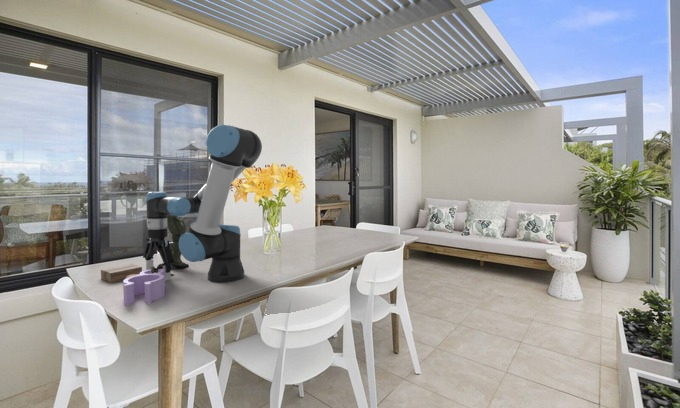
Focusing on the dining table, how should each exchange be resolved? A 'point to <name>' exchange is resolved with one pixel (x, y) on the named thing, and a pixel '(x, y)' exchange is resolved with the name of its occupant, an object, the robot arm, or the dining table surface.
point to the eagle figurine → (160, 266)
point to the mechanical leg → (176, 239)
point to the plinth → (119, 272)
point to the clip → (144, 286)
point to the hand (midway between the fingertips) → (158, 277)
